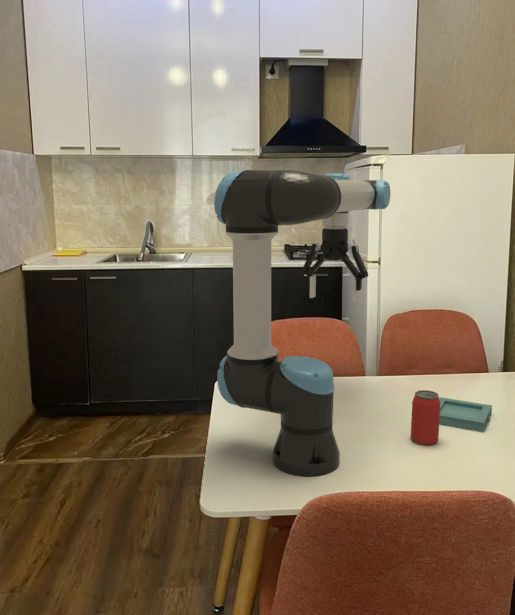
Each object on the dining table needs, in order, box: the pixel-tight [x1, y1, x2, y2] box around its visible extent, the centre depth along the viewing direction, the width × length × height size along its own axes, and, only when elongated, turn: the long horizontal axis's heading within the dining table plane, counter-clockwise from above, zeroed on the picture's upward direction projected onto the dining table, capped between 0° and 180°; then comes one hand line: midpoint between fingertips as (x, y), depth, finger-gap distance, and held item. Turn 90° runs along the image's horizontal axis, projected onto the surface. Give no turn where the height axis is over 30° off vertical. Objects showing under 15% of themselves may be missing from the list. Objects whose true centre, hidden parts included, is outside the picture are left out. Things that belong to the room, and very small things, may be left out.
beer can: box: [410, 389, 440, 446], centre depth 148 cm, size 7×7×12 cm
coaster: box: [439, 396, 493, 433], centre depth 163 cm, size 14×14×2 cm
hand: (333, 299), depth 181 cm, fingers open, 13 cm apart
